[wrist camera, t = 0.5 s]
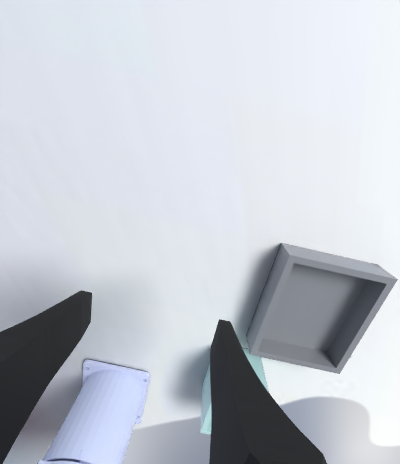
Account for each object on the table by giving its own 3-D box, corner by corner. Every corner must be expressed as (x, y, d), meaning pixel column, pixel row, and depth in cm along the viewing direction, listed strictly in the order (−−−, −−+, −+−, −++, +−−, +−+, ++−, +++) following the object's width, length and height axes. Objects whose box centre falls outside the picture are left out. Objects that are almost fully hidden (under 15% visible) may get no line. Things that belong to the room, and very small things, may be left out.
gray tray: (377, 264, 21) (397, 279, 19) (327, 352, 25) (339, 373, 23) (281, 242, 21) (289, 254, 19) (246, 335, 25) (249, 354, 23)
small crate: (259, 351, 26) (269, 397, 21) (242, 393, 28) (247, 442, 23) (216, 342, 26) (216, 385, 21) (202, 384, 28) (200, 432, 23)
